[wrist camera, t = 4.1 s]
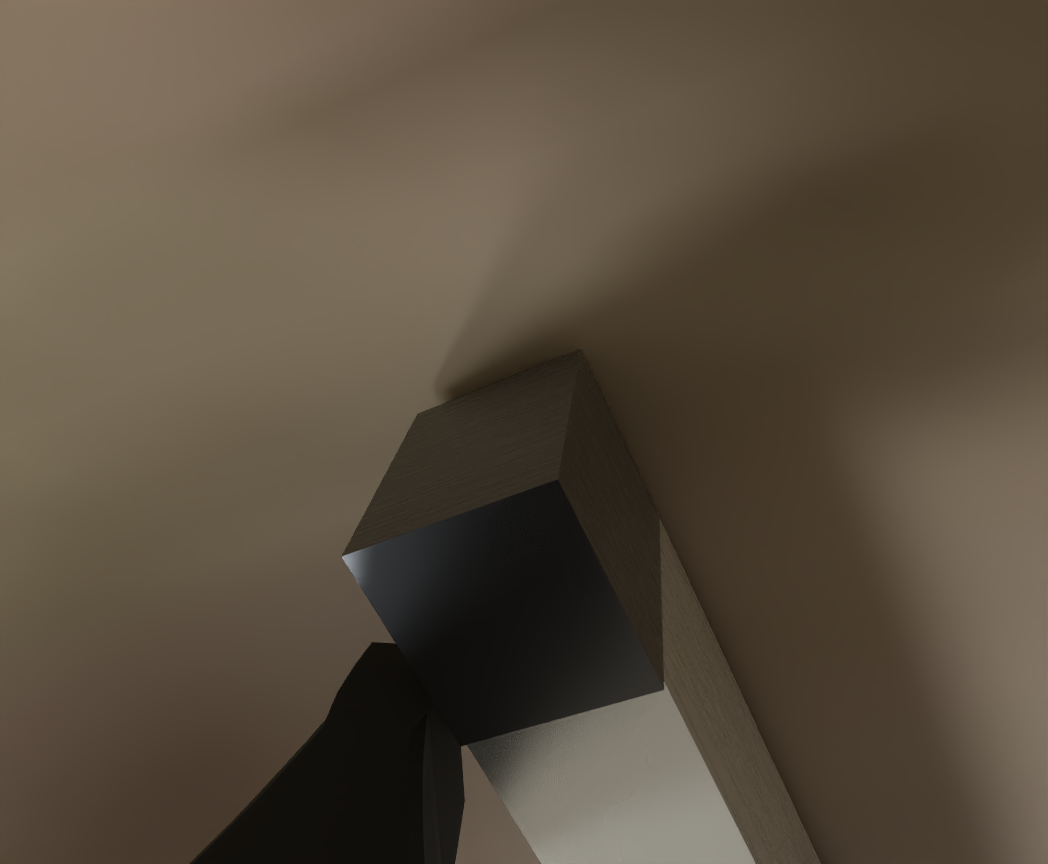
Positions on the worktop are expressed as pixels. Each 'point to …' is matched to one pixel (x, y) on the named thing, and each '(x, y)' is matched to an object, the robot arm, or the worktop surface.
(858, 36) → the worktop surface
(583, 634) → the hinged tong arm
